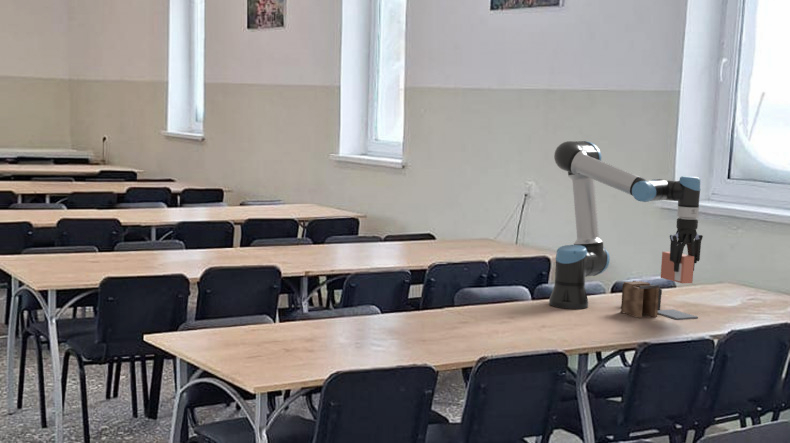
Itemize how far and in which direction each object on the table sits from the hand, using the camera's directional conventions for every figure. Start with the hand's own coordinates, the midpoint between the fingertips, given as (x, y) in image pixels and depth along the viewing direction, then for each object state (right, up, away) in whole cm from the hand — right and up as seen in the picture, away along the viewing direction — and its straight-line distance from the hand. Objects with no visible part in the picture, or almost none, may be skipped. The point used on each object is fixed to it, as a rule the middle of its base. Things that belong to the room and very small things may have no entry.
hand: (683, 280), depth 366 cm
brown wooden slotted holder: (-15, -13, +7) cm, 21 cm away
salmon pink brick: (-2, 0, +4) cm, 4 cm away
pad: (-1, -14, +8) cm, 16 cm away
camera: (-7, -12, +23) cm, 27 cm away
